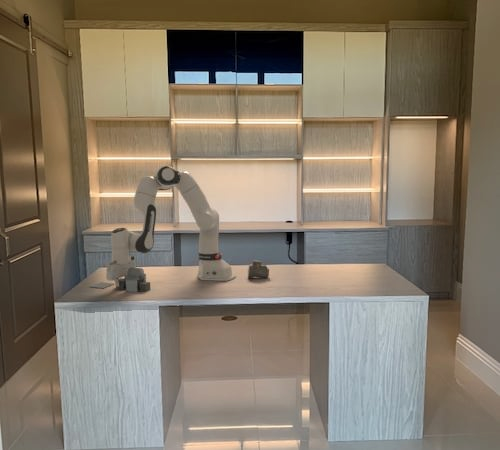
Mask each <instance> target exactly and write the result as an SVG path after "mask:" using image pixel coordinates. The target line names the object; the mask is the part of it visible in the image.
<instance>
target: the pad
mask: <svg viewBox="0 0 500 450" xmlns="http://www.w3.org/2000/svg"><path fill="white" fill-rule="evenodd" d="M114 285H115V283H112V282H99V283H95V284H93V285H90V286H89V288H95V289H102V290H103V289H107V288H109V287H111V286H114Z"/></svg>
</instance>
